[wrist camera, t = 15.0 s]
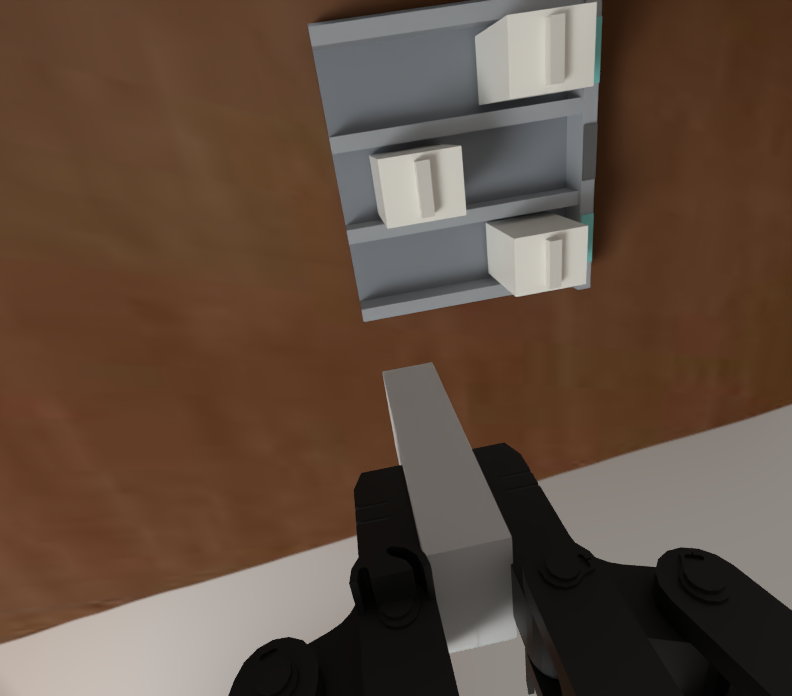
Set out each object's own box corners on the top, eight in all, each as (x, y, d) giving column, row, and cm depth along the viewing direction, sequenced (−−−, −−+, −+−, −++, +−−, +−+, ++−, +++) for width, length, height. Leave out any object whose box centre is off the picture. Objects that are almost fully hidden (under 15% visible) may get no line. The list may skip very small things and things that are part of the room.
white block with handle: (485, 222, 35) (518, 241, 29) (548, 211, 35) (593, 227, 29) (488, 273, 37) (519, 300, 31) (548, 262, 37) (591, 287, 31)
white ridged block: (369, 155, 32) (378, 160, 26) (439, 143, 32) (464, 145, 26) (378, 213, 34) (389, 230, 28) (444, 202, 34) (469, 216, 28)
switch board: (308, 28, 30) (305, 14, 26) (575, -11, 31) (605, -29, 28) (362, 313, 38) (365, 330, 35) (569, 275, 40) (591, 288, 36)
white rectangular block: (474, 36, 30) (511, 11, 24) (548, 25, 30) (603, -2, 24) (478, 105, 32) (514, 98, 26) (548, 94, 32) (600, 84, 26)
